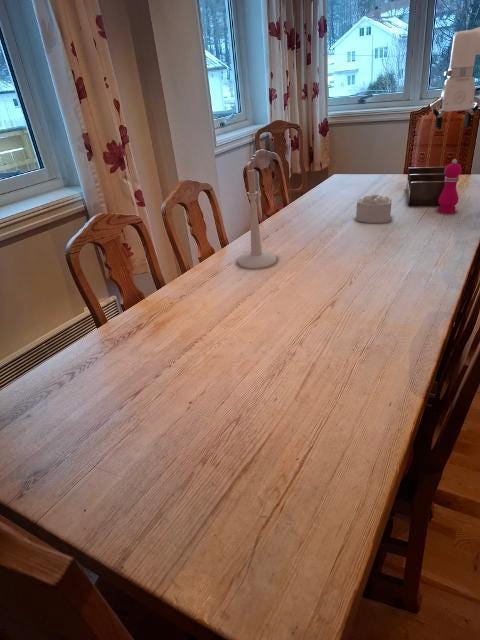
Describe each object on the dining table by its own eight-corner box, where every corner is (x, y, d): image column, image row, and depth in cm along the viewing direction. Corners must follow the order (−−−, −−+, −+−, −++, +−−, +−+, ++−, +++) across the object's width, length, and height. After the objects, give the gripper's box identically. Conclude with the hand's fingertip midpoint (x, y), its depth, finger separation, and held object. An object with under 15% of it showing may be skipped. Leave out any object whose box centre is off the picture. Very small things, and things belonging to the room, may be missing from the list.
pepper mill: (434, 213, 171) (442, 160, 161) (439, 208, 176) (446, 156, 166) (454, 214, 167) (463, 161, 157) (458, 209, 172) (467, 157, 162)
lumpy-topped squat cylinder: (389, 223, 165) (391, 200, 161) (355, 222, 169) (356, 200, 165) (389, 214, 174) (391, 193, 170) (356, 214, 178) (357, 193, 173)
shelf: (442, 188, 200) (446, 166, 195) (449, 206, 177) (453, 181, 172) (406, 189, 204) (408, 167, 199) (408, 206, 181) (411, 182, 176)
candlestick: (271, 251, 151) (266, 162, 135) (280, 265, 140) (276, 170, 125) (235, 256, 149) (226, 167, 134) (241, 271, 138) (233, 175, 123)
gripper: (437, 76, 144) (430, 131, 152) (491, 71, 142) (481, 127, 151) (430, 76, 150) (424, 128, 159) (482, 71, 149) (472, 124, 157)
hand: (452, 128), depth 155 cm, fingers open, 9 cm apart
